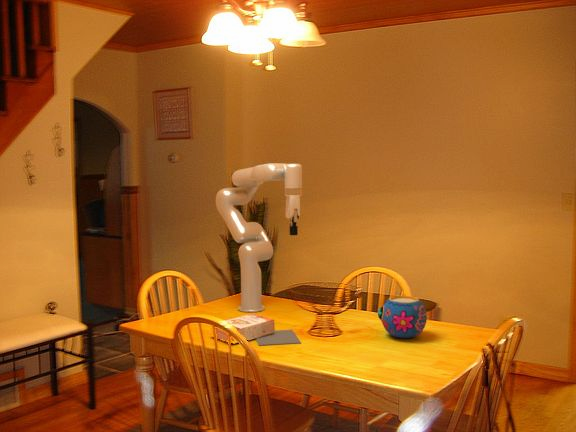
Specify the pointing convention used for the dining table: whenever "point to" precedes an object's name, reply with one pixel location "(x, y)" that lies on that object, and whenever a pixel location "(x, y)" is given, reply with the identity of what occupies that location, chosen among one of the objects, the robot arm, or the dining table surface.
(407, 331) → the ceramic pot
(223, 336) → the cracker box
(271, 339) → the mat
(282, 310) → the dining table surface
